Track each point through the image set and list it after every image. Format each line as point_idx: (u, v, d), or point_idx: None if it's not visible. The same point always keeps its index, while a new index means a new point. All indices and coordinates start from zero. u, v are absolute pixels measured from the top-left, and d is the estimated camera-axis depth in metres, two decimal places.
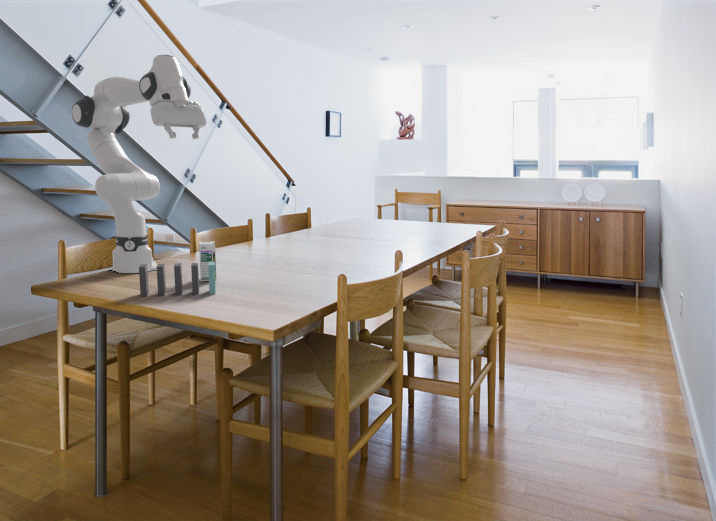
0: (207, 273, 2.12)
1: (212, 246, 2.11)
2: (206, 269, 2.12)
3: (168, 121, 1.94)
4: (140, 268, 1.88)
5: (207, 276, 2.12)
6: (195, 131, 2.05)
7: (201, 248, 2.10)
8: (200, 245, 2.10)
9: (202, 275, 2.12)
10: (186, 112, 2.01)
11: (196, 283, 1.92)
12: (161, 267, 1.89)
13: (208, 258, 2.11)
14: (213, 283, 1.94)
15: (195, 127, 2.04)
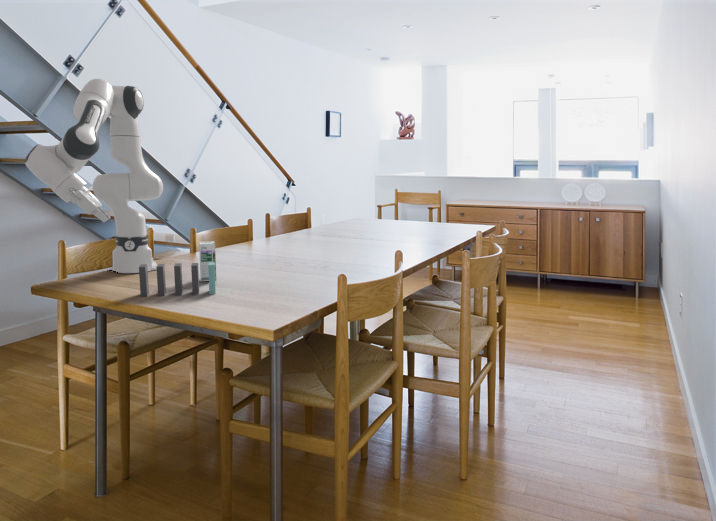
0: (207, 273, 2.12)
1: (212, 246, 2.11)
2: (206, 269, 2.12)
3: None
4: (140, 268, 1.88)
5: (207, 276, 2.12)
6: None
7: (201, 248, 2.10)
8: (200, 245, 2.10)
9: (202, 275, 2.12)
10: None
11: (196, 283, 1.92)
12: (161, 267, 1.89)
13: (208, 258, 2.11)
14: (213, 283, 1.94)
15: None
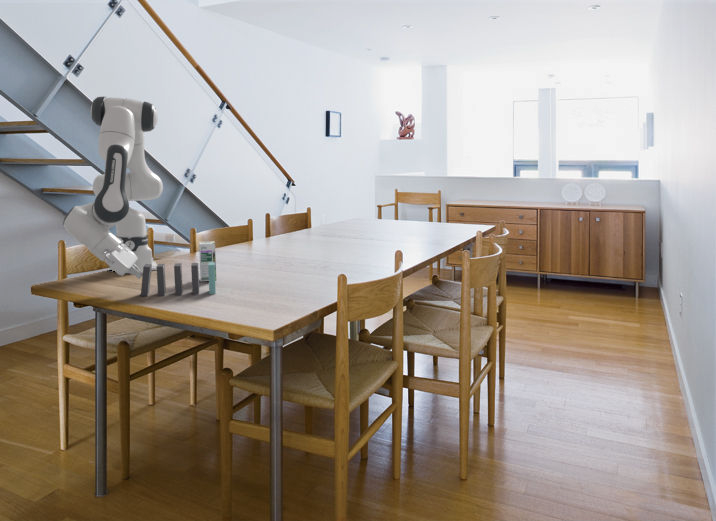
0: (207, 273, 2.12)
1: (212, 246, 2.11)
2: (206, 269, 2.12)
3: None
4: (144, 267, 1.88)
5: (207, 276, 2.12)
6: None
7: (201, 248, 2.10)
8: (200, 245, 2.10)
9: (202, 275, 2.12)
10: None
11: (196, 283, 1.92)
12: (161, 267, 1.89)
13: (208, 258, 2.11)
14: (213, 283, 1.94)
15: None
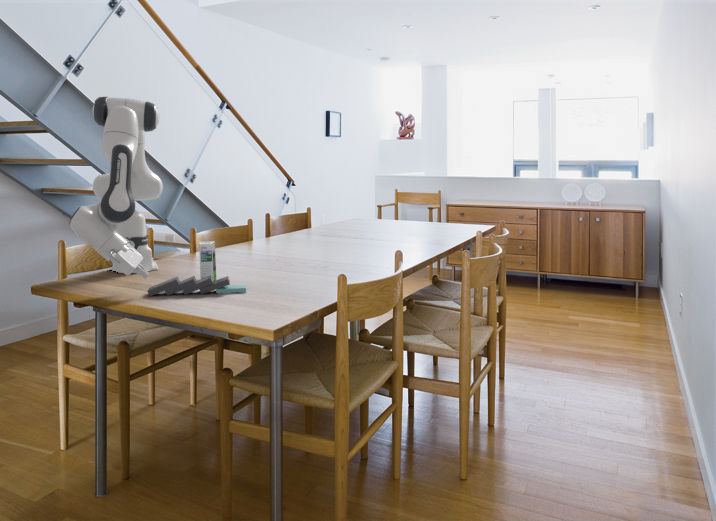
0: (207, 273, 2.12)
1: (212, 246, 2.11)
2: (206, 269, 2.12)
3: None
4: (175, 281, 1.91)
5: (207, 276, 2.12)
6: None
7: (201, 248, 2.10)
8: (200, 245, 2.10)
9: (202, 275, 2.12)
10: None
11: (211, 289, 1.94)
12: (194, 283, 1.92)
13: (208, 258, 2.11)
14: None
15: None
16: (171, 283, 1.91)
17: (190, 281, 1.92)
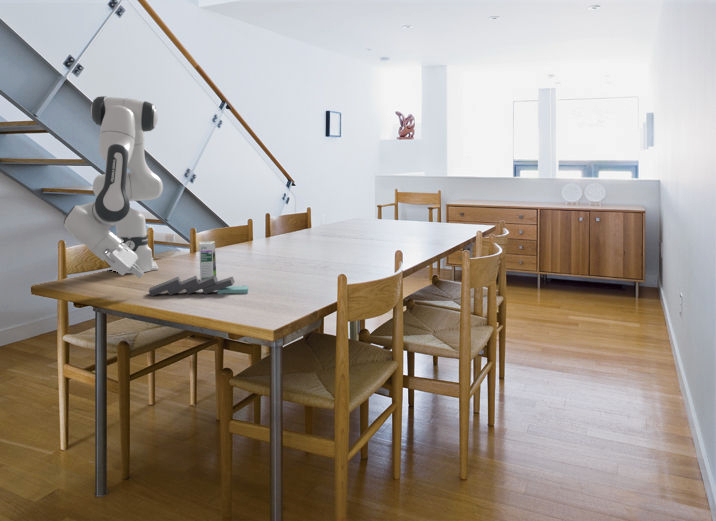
0: (207, 273, 2.12)
1: (212, 246, 2.11)
2: (206, 269, 2.12)
3: None
4: (177, 281, 1.91)
5: (207, 276, 2.12)
6: None
7: (201, 248, 2.10)
8: (200, 245, 2.10)
9: (202, 275, 2.12)
10: None
11: (214, 289, 1.93)
12: (196, 283, 1.93)
13: (208, 258, 2.11)
14: None
15: None
16: (172, 283, 1.91)
17: (192, 281, 1.92)
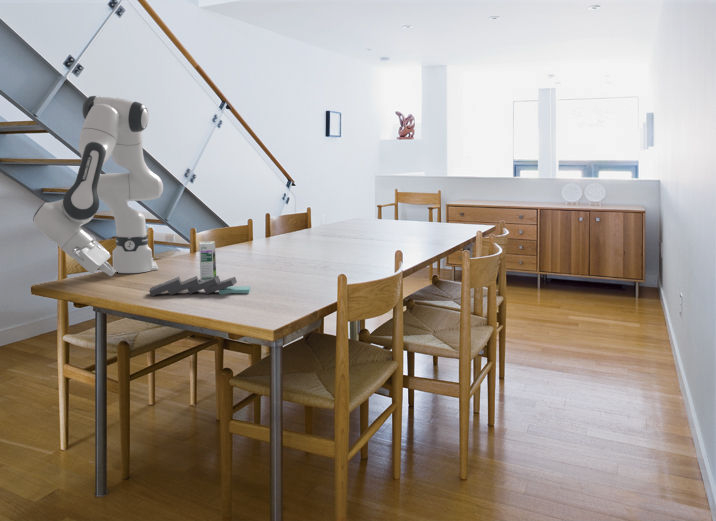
0: (207, 273, 2.12)
1: (212, 246, 2.11)
2: (206, 269, 2.12)
3: None
4: (177, 281, 1.91)
5: (207, 276, 2.12)
6: None
7: (201, 248, 2.10)
8: (200, 245, 2.10)
9: (202, 275, 2.12)
10: None
11: (215, 289, 1.93)
12: (197, 283, 1.93)
13: (208, 258, 2.11)
14: None
15: None
16: (173, 283, 1.91)
17: (193, 281, 1.93)
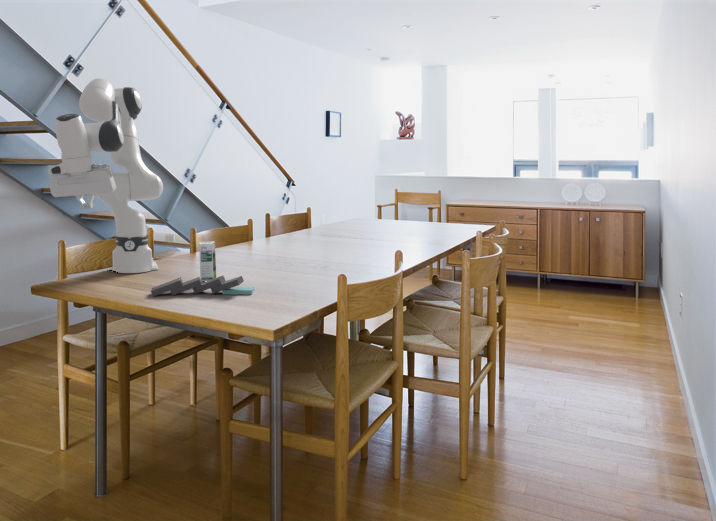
0: (207, 273, 2.12)
1: (212, 246, 2.11)
2: (206, 269, 2.12)
3: (63, 195, 1.86)
4: (179, 282, 1.91)
5: (207, 276, 2.12)
6: None
7: (201, 248, 2.10)
8: (200, 245, 2.10)
9: (202, 275, 2.12)
10: (86, 181, 1.85)
11: (222, 288, 1.92)
12: (200, 284, 1.93)
13: (208, 258, 2.11)
14: None
15: None
16: (175, 284, 1.91)
17: (196, 282, 1.93)
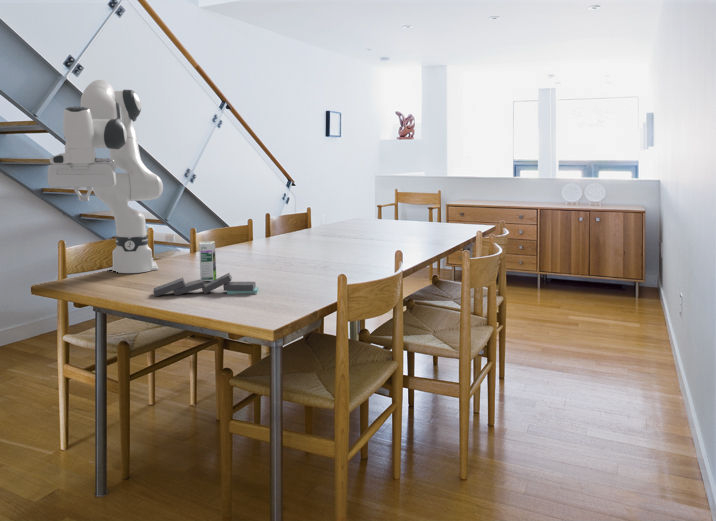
0: (207, 273, 2.12)
1: (212, 246, 2.11)
2: (206, 269, 2.12)
3: (60, 185, 1.84)
4: (182, 282, 1.91)
5: (207, 276, 2.12)
6: None
7: (201, 248, 2.10)
8: (200, 245, 2.10)
9: (202, 275, 2.12)
10: (87, 173, 1.85)
11: (234, 289, 1.94)
12: (203, 286, 1.94)
13: (208, 258, 2.11)
14: None
15: None
16: (177, 284, 1.91)
17: (200, 284, 1.93)
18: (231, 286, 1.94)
